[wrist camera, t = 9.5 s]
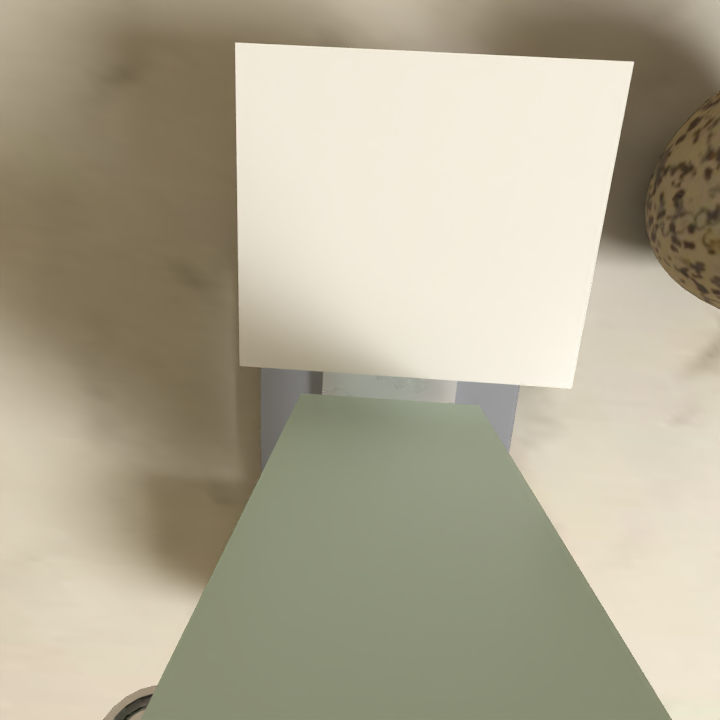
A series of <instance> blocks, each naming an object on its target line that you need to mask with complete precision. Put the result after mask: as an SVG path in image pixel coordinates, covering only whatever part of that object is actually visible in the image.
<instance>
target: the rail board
mask: <svg viewBox="0 0 720 720" xmlns="http://www.w3.org/2000/svg"><path fill="white" fill-rule="evenodd" d="M633 66H634V62H630V61H610V60H589V59H568V58H547V57H526V56H506V55H485V54H464V53H443V52H422V51H401V50H381V49H360V48H339V47H318V46H297V45H277V44H256V43H235V73H236V146H237V218H238V291H239V363H240V366H247V367H261V474H262V472H263V470H264V468H265V466H266V464H267V462H268V459H269V457H270V455H271V453H272V451H273V449H274V447H275V445H276V443H277V441H278V439H279V437H280V435H281V433H282V431H283V429H284V427H285V425H286V423H287V421H288V419H289V417H290V415H291V413H292V411H293V409H294V407H295V405H296V403H297V401H298V398H299V396H300V394H301V393H305V394H320V395H335V396H350V397H365V398H379V399H394V400H409V401H424V402H439V403H454V404H469V405H480V407H481V409H482V410H483V412H484V414H485V415H486V417H487V418H488V420H489V422H490V423H491V425H492V427H493V428H494V430H495V432H496V433H497V435H498V436H499V438H500V440H501V441H502V443H503V445H504V446H505V448H506V449H507V451H508V453H509V450H510V443H511V437H512V431H513V424H514V418H515V412H516V406H517V399H518V393H519V387H520V385H526V386H541V387H555V388H570V389H572V384H573V379H574V374H575V369H576V363H577V358H578V353H579V348H580V342H581V337H582V332H583V327H584V322H585V316H586V311H587V306H588V301H589V295H590V290H591V285H592V280H593V275H594V269H595V264H596V259H597V254H598V248H599V243H600V238H601V233H602V228H603V222H604V217H605V212H606V207H607V201H608V196H609V191H610V186H611V181H612V175H613V170H614V165H615V160H616V154H617V149H618V144H619V139H620V134H621V128H622V123H623V118H624V113H625V107H626V102H627V97H628V92H629V87H630V81H631V76H632V71H633Z"/></svg>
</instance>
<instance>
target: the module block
mask: <svg viewBox="0 0 720 720" xmlns="http://www.w3.org/2000/svg"><path fill="white" fill-rule="evenodd" d="M141 720H672V719H671V718H670V716H669V714H668V713H667V711H666V709H665V708H664V706H663V704H662V703H661V701H660V700H659V698H658V696H657V695H656V693H655V691H654V690H653V688H652V686H651V685H650V683H649V682H648V680H647V678H646V677H645V675H644V673H643V672H642V670H641V669H640V667H639V665H638V664H637V662H636V660H635V659H634V657H633V655H632V654H631V652H630V651H629V649H628V647H627V646H626V644H625V642H624V641H623V639H622V637H621V636H620V634H619V633H618V631H617V629H616V628H615V626H614V624H613V623H612V621H611V619H610V618H609V616H608V615H607V613H606V611H605V610H604V608H603V606H602V605H601V603H600V601H599V600H598V598H597V597H596V595H595V593H594V592H593V590H592V588H591V587H590V585H589V584H588V582H587V580H586V579H585V577H584V575H583V574H582V572H581V570H580V569H579V567H578V566H577V564H576V562H575V561H574V559H573V557H572V556H571V554H570V552H569V551H568V549H567V548H566V546H565V544H564V543H563V541H562V539H561V538H560V536H559V534H558V533H557V531H556V530H555V528H554V526H553V525H552V523H551V521H550V520H549V518H548V517H547V515H546V513H545V512H544V510H543V508H542V507H541V505H540V503H539V502H538V500H537V499H536V497H535V495H534V494H533V492H532V490H531V489H530V487H529V485H528V484H527V482H526V481H525V479H524V477H523V476H522V474H521V472H520V471H519V469H518V467H517V466H516V464H515V463H514V461H513V459H512V458H511V456H510V454H509V453H508V451H507V449H506V448H505V446H504V445H503V443H502V441H501V440H500V438H499V436H498V435H497V433H496V432H495V430H494V428H493V427H492V425H491V423H490V422H489V420H488V418H487V417H486V415H485V414H484V412H483V410H482V409H481V407H480V405H469V404H454V403H439V402H424V401H409V400H394V399H379V398H365V397H350V396H335V395H320V394H305V393H301V394H300V396H299V398H298V401H297V403H296V405H295V407H294V409H293V411H292V413H291V415H290V417H289V419H288V421H287V423H286V425H285V427H284V429H283V431H282V433H281V435H280V437H279V439H278V441H277V443H276V445H275V447H274V449H273V451H272V453H271V455H270V457H269V459H268V462H267V464H266V466H265V468H264V470H263V472H262V474H261V476H260V478H259V480H258V482H257V484H256V486H255V488H254V490H253V492H252V494H251V496H250V498H249V500H248V502H247V504H246V506H245V508H244V510H243V512H242V514H241V516H240V518H239V520H238V523H237V525H236V527H235V529H234V531H233V533H232V535H231V537H230V539H229V541H228V543H227V545H226V547H225V549H224V551H223V553H222V555H221V557H220V559H219V561H218V563H217V565H216V567H215V569H214V571H213V573H212V575H211V577H210V579H209V582H208V584H207V586H206V588H205V590H204V592H203V594H202V596H201V598H200V600H199V602H198V604H197V606H196V608H195V610H194V612H193V614H192V616H191V618H190V620H189V622H188V624H187V626H186V628H185V630H184V632H183V634H182V636H181V638H180V640H179V643H178V645H177V647H176V649H175V651H174V653H173V655H172V657H171V659H170V661H169V663H168V665H167V667H166V669H165V671H164V673H163V675H162V677H161V679H160V681H159V683H158V685H157V687H156V689H155V691H154V693H153V695H152V697H151V699H150V701H149V704H148V706H147V708H146V710H145V712H144V714H143V716H142V718H141Z"/></svg>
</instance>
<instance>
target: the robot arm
mask: <svg viewBox="0 0 720 720" xmlns="http://www.w3.org/2000/svg"><path fill="white" fill-rule="evenodd" d="M156 687H157V686H151V687H147V688H144V689H140V690H138V691H136V692H134V693H132V694H130V695H129V696H127V697H125V698H124V699H123V700H122V701H120V702H119V703H118V704H117V705H115V706H114V707H113V708H112V709H111V711H110V712H109V713H108V714H107V716H106V717H105V718H104V719H103V720H141V718H142V716H143V714H144V712H145V710H146V708H147V706H148V704H149V701H150V699H151V697H152V695H153V693H154V691H155V689H156Z"/></svg>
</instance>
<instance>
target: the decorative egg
mask: <svg viewBox="0 0 720 720" xmlns="http://www.w3.org/2000/svg"><path fill="white" fill-rule="evenodd" d="M645 223H646V230H647V234H648V239H649V241H650V244H651V247H652V249H653V252H654V254H655V256H656V258H657V259H658V261H659V262H660V264H661V265H662V267H663V268H664V269H665V271H666V272H667V273H668V274H669V275H670V276H671V277H672V278H673V279H674V280H675V281H676V282H677V283H678V284H679V285H680V286H682V287H683V288H684V289H686V290H687V291H689V292H690V293H692V294H693V295H695V296H696V297H698V298H699V299H701V300H703V301H705V302H707V303H709V304H711V305H713V306H715V307H716V308H718V309H720V91H719V92H718V93H716V94H715V95H714V96H713V97H711V98H710V99H709V100H707V101H706V102H705V103H704V104H703V105H702V106H701V107H700V108H699V109H698V110H697V111H696V112H695V113H694V114H693V115H692V116H691V117H690V118H689V119H688V120H687V121H686V122H685V124H684V125H683V126H682V127H681V128H680V129H679V130H678V132H677V133H676V134H675V136H674V137H673V139H672V140H671V141H670V143H669V144H668V146H667V147H666V149H665V150H664V152H663V154H662V155H661V157H660V159H659V161H658V163H657V165H656V167H655V169H654V172H653V174H652V177H651V180H650V184H649V188H648V192H647V197H646V204H645Z"/></svg>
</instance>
